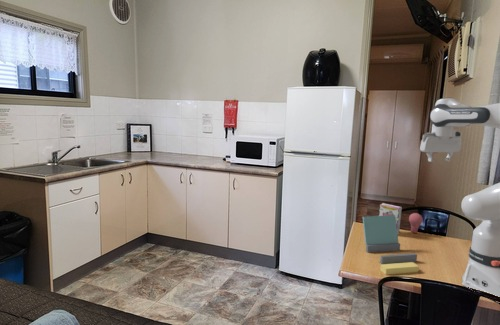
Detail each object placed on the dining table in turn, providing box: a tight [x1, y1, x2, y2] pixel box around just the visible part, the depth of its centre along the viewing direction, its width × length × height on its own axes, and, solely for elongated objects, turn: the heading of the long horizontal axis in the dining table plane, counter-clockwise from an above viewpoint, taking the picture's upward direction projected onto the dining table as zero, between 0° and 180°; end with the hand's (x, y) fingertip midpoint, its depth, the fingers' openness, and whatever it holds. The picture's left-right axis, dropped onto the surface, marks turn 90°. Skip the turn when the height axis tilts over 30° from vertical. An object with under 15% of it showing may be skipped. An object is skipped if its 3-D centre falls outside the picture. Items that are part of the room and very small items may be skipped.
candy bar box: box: [378, 202, 403, 235], centre depth 188 cm, size 11×5×16 cm, turn 48°
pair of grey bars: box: [365, 242, 418, 265], centre depth 157 cm, size 14×18×4 cm
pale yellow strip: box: [379, 262, 420, 276], centre depth 143 cm, size 4×16×3 cm, turn 101°
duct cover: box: [362, 215, 399, 246], centre depth 166 cm, size 14×18×1 cm
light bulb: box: [408, 212, 423, 234], centre depth 188 cm, size 7×7×12 cm
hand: (438, 161), depth 155 cm, fingers open, 8 cm apart
